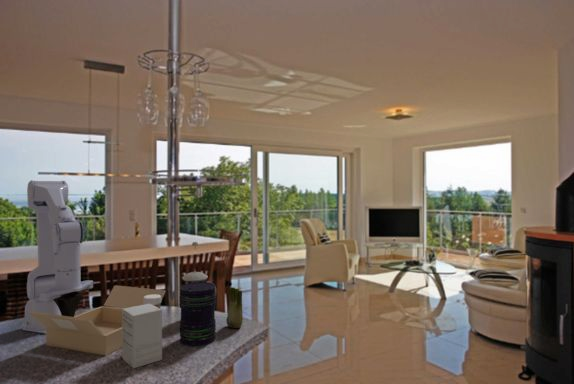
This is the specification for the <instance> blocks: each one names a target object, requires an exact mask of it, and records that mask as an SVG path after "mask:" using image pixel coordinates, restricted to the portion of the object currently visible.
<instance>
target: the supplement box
mask: <svg viewBox="0 0 574 384" xmlns="http://www.w3.org/2000/svg"><path fill="white" fill-rule="evenodd" d="M121 309H122V348H121V349H122V350H121V351H122V352H121V355H122V360H123V361H124V362H126V363H127V365H129V366H130V367H132V368H133V369H136V368H139V367H143V366H145V365H149V364H152V363H155V362H159V361H162V360H163V309H162V308H161V307H160V308H158V307H156V306H154V305H152V304H144V305H139V306H134V307H129V308H121Z"/></svg>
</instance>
